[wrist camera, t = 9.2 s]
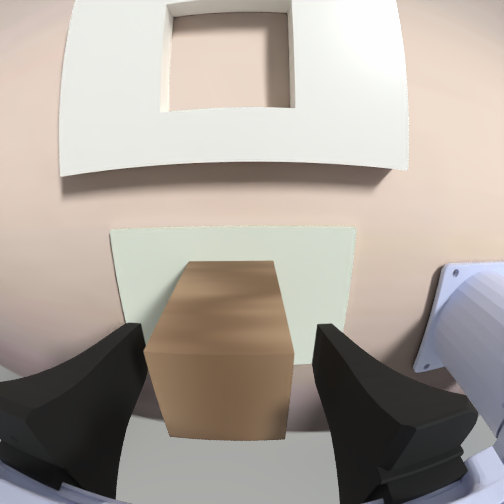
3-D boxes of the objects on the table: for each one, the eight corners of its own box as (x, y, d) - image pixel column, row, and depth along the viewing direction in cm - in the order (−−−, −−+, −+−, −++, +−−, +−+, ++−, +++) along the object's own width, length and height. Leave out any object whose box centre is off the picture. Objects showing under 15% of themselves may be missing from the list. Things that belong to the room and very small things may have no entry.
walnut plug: (273, 260, 14) (294, 353, 7) (271, 331, 15) (285, 439, 8) (188, 261, 14) (143, 351, 7) (196, 331, 15) (169, 436, 8)
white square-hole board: (381, -2, 10) (392, -14, 8) (393, 168, 13) (408, 170, 11) (87, 7, 9) (75, -2, 8) (76, 173, 13) (60, 176, 11)
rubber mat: (353, 226, 14) (356, 228, 13) (335, 357, 16) (337, 361, 16) (113, 228, 14) (109, 230, 13) (137, 356, 16) (135, 360, 16)
